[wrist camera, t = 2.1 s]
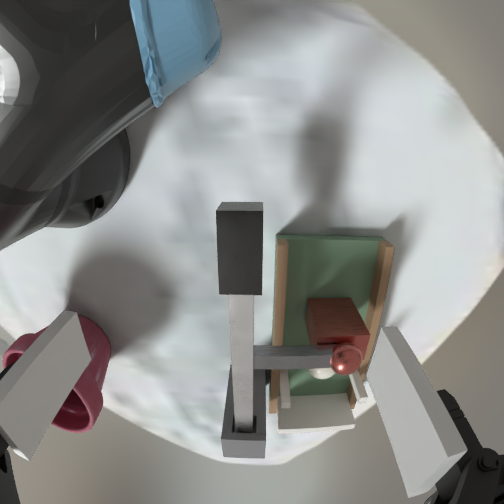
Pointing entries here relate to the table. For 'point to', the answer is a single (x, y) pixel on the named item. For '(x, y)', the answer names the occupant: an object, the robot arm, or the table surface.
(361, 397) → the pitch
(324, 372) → the ball
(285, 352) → the slider
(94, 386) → the plant pot
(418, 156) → the table surface
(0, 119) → the robot arm
